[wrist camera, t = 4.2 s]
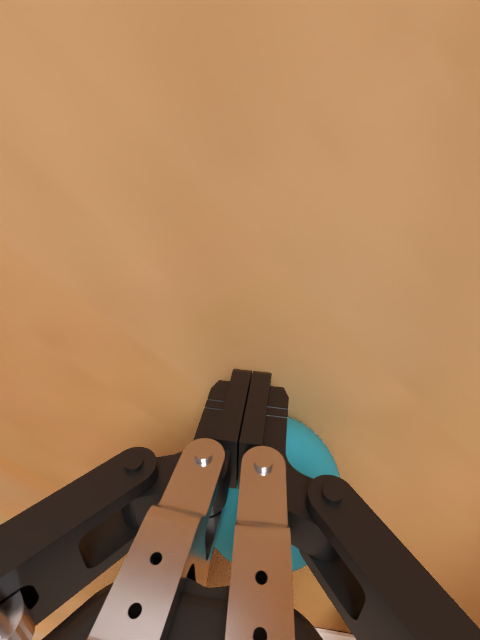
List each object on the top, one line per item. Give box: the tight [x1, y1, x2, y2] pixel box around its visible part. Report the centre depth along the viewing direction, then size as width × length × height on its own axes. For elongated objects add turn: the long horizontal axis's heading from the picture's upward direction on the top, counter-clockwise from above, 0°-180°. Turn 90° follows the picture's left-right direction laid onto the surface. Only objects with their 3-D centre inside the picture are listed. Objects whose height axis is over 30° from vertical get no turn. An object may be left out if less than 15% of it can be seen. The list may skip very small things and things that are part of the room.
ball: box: [215, 417, 340, 572], centre depth 15 cm, size 6×6×6 cm
